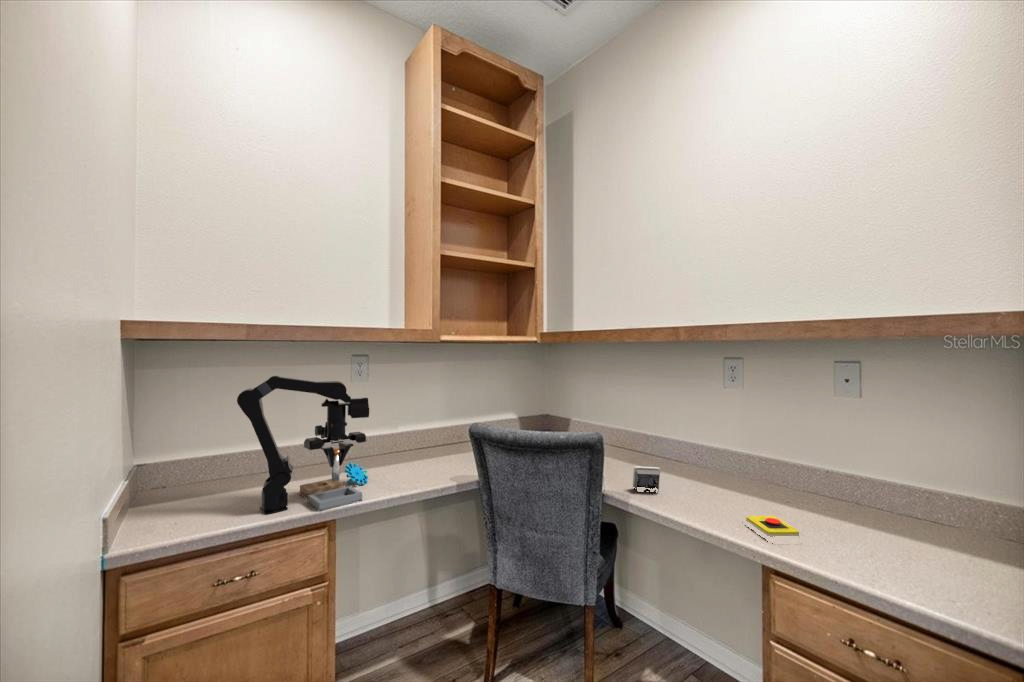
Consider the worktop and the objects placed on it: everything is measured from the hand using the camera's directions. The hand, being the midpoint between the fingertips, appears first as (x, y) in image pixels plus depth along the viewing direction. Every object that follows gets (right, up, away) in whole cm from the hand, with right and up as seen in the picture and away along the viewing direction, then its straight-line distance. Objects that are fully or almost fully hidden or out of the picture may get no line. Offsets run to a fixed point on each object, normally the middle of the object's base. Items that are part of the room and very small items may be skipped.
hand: (335, 466), depth 146 cm
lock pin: (0, -5, 0) cm, 5 cm away
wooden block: (-8, -12, +8) cm, 17 cm away
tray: (0, -12, 0) cm, 12 cm away
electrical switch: (+108, -13, +13) cm, 109 cm away
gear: (+1, -12, +19) cm, 23 cm away
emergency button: (+132, -14, -21) cm, 135 cm away
